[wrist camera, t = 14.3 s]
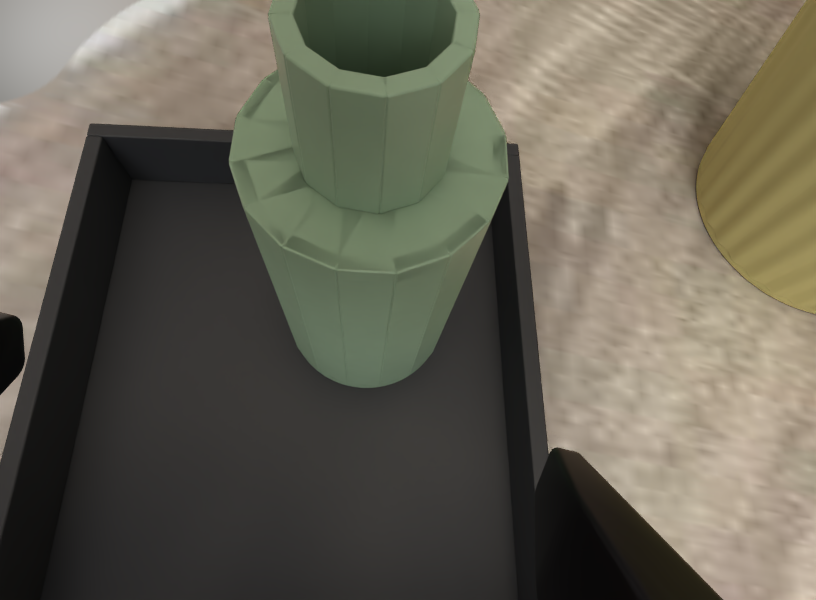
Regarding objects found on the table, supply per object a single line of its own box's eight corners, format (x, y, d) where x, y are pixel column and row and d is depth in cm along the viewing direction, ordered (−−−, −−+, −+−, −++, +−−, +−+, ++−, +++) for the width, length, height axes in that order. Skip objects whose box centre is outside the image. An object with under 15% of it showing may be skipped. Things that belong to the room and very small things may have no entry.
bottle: (465, 357, 22) (628, 110, 8) (319, 411, 21) (239, 222, 7) (409, 230, 24) (470, -134, 10) (273, 272, 23) (142, -80, 9)
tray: (541, 734, 18) (581, 783, 15) (-5, 755, 16) (-94, 814, 13) (498, 190, 26) (518, 143, 22) (125, 174, 24) (89, 122, 21)
